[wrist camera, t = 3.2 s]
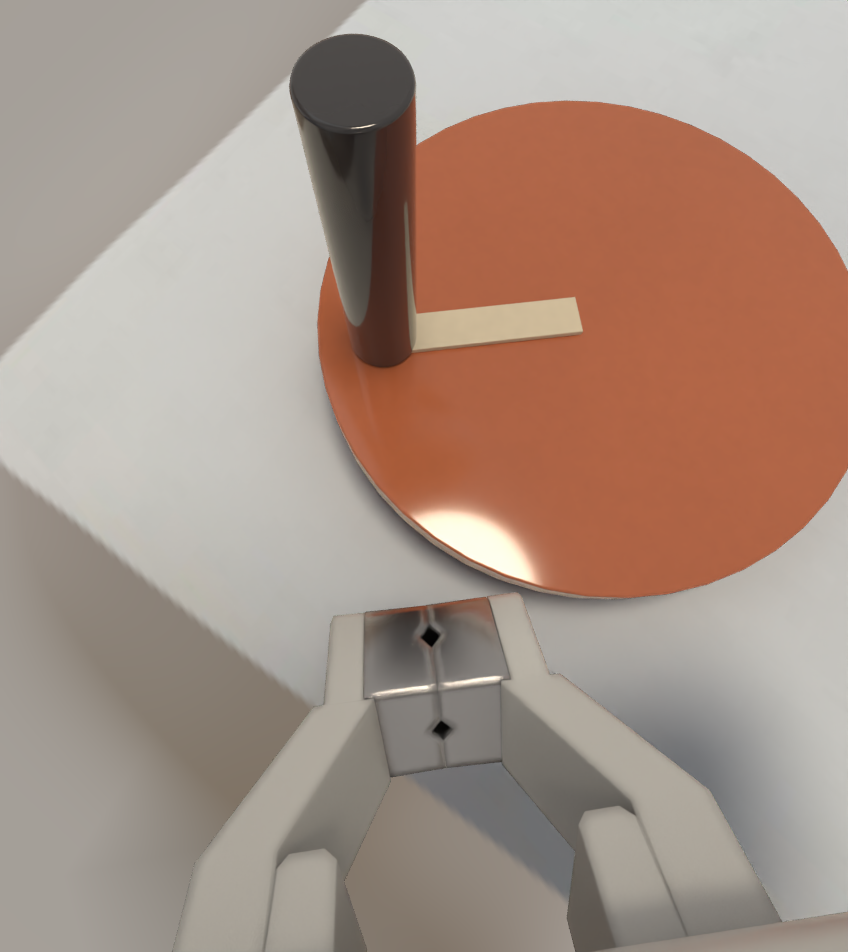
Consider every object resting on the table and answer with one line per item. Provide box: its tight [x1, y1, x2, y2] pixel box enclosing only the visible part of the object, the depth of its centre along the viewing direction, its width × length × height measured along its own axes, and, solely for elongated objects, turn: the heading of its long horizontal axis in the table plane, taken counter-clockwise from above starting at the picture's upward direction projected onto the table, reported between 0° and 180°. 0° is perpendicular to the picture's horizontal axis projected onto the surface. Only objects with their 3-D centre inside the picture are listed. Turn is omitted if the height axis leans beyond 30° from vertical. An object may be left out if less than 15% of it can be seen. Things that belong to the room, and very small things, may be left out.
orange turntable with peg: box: [289, 34, 848, 599], centre depth 13 cm, size 17×17×9 cm
